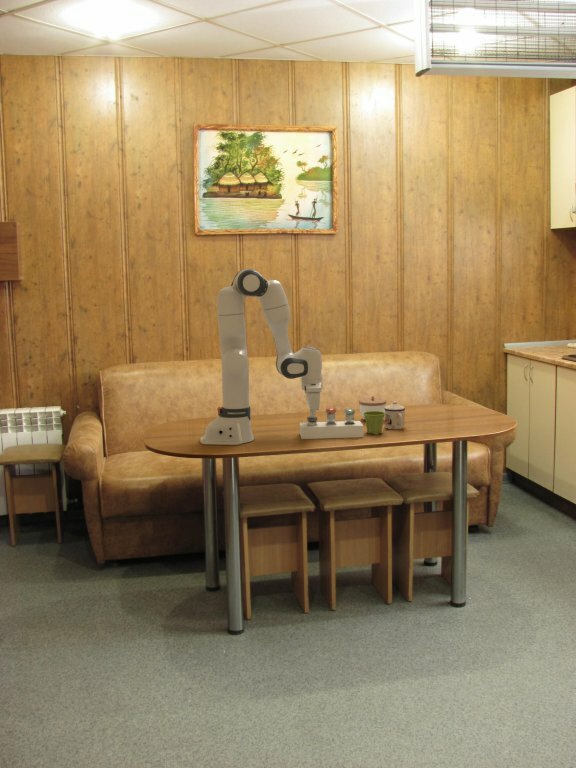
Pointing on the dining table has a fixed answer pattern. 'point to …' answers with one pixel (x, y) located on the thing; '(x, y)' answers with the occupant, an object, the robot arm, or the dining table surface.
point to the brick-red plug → (330, 415)
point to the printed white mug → (394, 416)
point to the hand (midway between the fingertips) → (312, 417)
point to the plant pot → (374, 421)
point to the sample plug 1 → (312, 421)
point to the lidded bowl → (372, 405)
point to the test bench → (331, 430)
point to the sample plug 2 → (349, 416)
